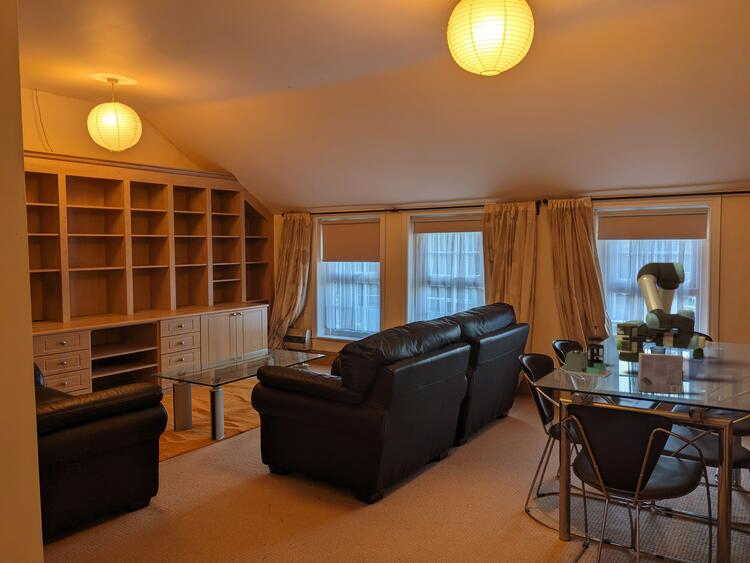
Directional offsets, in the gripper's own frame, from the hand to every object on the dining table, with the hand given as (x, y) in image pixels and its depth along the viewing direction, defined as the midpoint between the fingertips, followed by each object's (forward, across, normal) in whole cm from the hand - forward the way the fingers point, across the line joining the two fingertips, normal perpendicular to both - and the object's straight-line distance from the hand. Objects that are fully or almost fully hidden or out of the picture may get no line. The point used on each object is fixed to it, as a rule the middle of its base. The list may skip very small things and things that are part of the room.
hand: (618, 336), depth 314 cm
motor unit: (+13, -9, -20) cm, 25 cm away
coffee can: (-4, 0, -8) cm, 9 cm away
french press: (+15, +11, -20) cm, 27 cm away
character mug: (-30, +70, -20) cm, 79 cm away
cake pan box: (-26, -34, -20) cm, 47 cm away
